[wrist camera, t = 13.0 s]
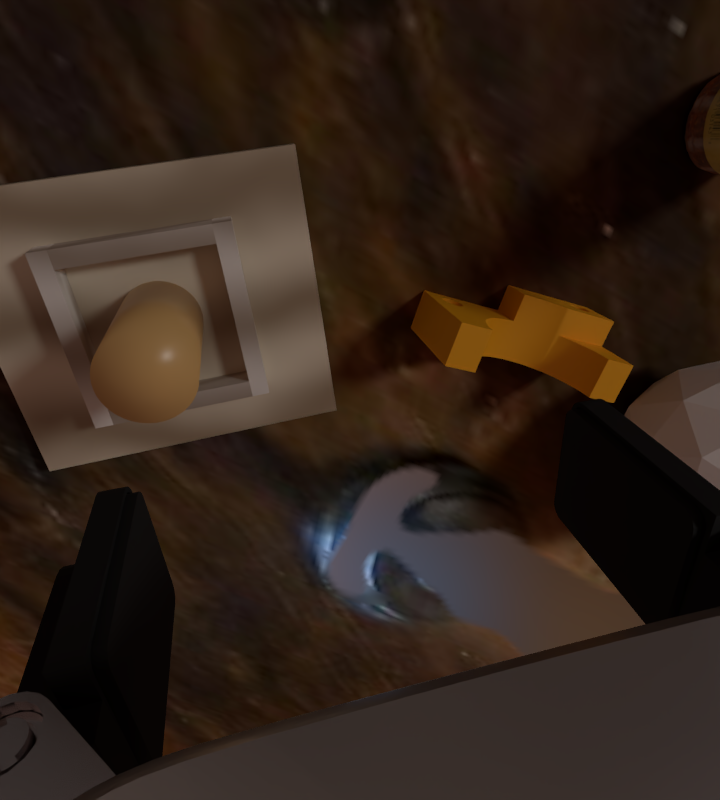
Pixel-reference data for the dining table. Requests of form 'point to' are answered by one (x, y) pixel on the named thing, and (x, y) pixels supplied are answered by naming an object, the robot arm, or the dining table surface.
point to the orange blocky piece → (525, 338)
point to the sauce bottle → (705, 128)
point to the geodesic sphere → (685, 417)
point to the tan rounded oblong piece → (150, 354)
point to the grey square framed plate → (171, 262)
